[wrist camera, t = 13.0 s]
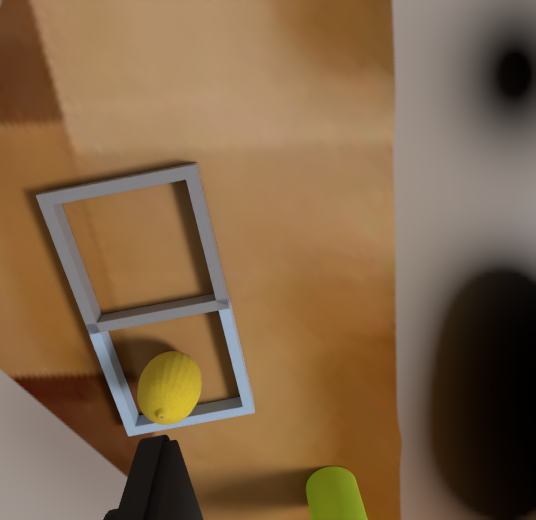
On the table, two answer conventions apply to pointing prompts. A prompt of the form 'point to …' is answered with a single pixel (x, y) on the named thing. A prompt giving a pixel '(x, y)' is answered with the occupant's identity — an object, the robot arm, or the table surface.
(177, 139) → the table surface
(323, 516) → the soap dispenser
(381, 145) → the table surface
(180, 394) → the lemon
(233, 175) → the table surface
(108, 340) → the grey divided frame
